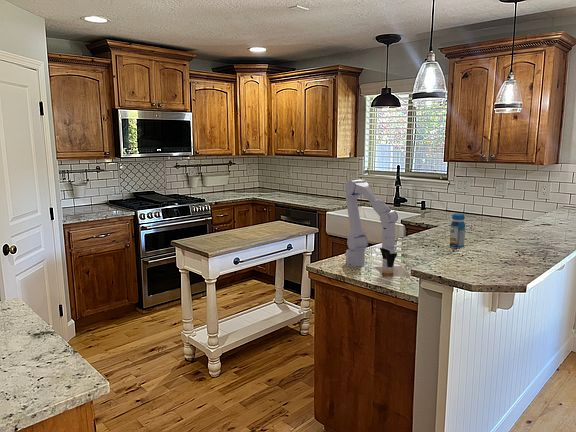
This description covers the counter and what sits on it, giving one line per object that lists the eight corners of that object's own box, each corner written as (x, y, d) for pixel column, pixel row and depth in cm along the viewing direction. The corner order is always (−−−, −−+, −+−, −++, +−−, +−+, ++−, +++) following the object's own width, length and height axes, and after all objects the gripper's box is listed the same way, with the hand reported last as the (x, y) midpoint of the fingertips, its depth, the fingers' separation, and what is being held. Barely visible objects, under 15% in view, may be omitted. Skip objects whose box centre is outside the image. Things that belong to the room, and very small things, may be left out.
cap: (381, 267, 214) (381, 257, 213) (392, 267, 214) (392, 257, 213) (383, 270, 209) (384, 260, 208) (394, 270, 209) (394, 260, 208)
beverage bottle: (464, 249, 259) (466, 215, 256) (449, 248, 262) (450, 214, 259) (464, 246, 267) (465, 213, 264) (449, 245, 270) (450, 212, 267)
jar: (383, 274, 209) (383, 264, 208) (380, 271, 214) (381, 262, 213) (394, 274, 209) (395, 264, 208) (391, 271, 214) (391, 261, 214)
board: (383, 279, 206) (383, 276, 206) (374, 269, 223) (374, 266, 223) (411, 278, 207) (411, 275, 207) (400, 268, 224) (400, 265, 223)
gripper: (401, 239, 202) (400, 268, 204) (392, 233, 216) (392, 260, 218) (386, 240, 202) (385, 269, 204) (378, 233, 216) (377, 261, 218)
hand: (387, 264), depth 211 cm, fingers open, 7 cm apart
